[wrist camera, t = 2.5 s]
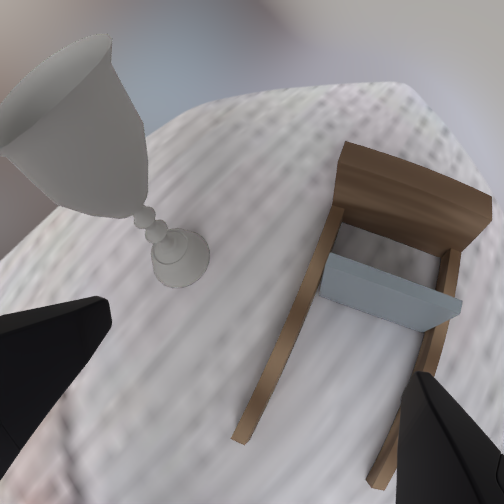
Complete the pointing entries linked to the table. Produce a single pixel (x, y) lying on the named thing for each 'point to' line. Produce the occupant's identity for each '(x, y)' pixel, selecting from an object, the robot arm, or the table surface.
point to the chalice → (92, 150)
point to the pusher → (386, 295)
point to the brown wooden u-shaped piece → (393, 227)
